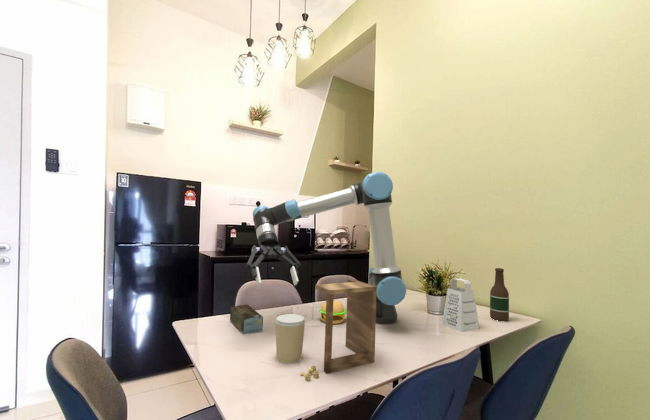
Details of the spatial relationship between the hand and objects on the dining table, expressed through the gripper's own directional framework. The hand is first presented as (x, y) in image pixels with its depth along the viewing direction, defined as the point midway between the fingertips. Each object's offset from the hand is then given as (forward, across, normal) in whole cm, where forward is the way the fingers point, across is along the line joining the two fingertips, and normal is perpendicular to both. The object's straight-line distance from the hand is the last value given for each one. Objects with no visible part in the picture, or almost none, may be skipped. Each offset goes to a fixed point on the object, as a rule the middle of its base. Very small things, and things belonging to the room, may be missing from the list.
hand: (278, 284), depth 104 cm
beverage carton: (-1, +4, -31) cm, 32 cm away
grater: (+23, -80, -5) cm, 83 cm away
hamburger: (+4, -32, -25) cm, 41 cm away
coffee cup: (+22, -1, -7) cm, 23 cm away
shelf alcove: (+27, -14, -2) cm, 31 cm away
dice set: (+32, -2, +2) cm, 32 cm away
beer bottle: (+24, -107, -4) cm, 109 cm away
